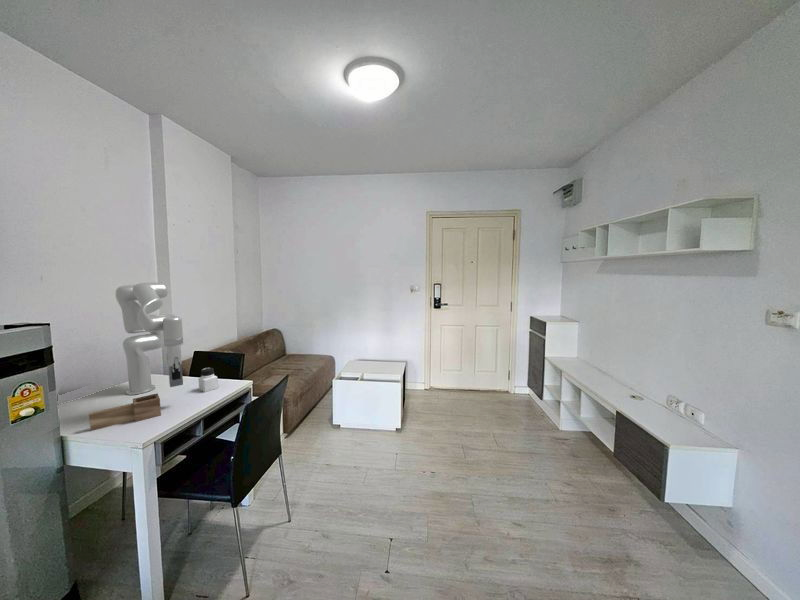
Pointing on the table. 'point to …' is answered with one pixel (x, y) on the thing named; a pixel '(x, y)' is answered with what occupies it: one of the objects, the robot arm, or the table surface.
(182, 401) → the table surface
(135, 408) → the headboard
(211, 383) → the medicine bottle
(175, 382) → the grey upright block
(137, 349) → the robot arm
